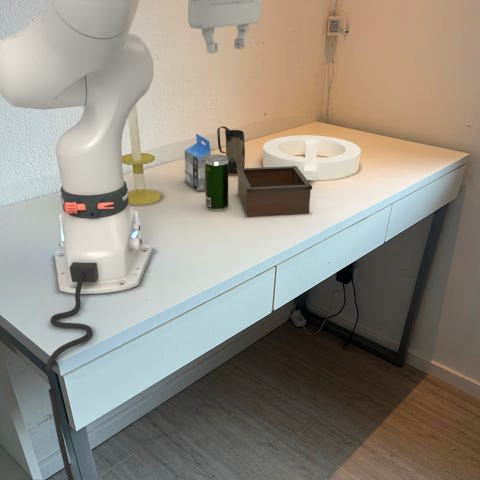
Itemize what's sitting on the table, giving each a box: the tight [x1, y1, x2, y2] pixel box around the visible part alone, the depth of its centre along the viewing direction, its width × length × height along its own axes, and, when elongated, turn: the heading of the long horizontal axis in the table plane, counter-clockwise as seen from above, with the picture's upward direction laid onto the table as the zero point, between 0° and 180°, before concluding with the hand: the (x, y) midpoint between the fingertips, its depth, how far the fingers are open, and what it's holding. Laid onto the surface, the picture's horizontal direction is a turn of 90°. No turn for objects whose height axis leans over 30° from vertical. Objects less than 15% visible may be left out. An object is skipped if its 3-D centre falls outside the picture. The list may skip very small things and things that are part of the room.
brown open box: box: [237, 166, 313, 218], centre depth 125 cm, size 15×15×7 cm
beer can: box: [205, 153, 229, 213], centre depth 122 cm, size 5×5×12 cm
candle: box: [122, 103, 162, 206], centre depth 123 cm, size 10×10×27 cm
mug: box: [216, 126, 246, 177], centre depth 144 cm, size 8×6×12 cm
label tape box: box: [184, 133, 212, 192], centre depth 135 cm, size 9×4×12 cm, turn 28°
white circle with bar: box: [262, 134, 362, 181], centre depth 152 cm, size 28×28×5 cm
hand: (226, 50), depth 111 cm, fingers open, 8 cm apart
